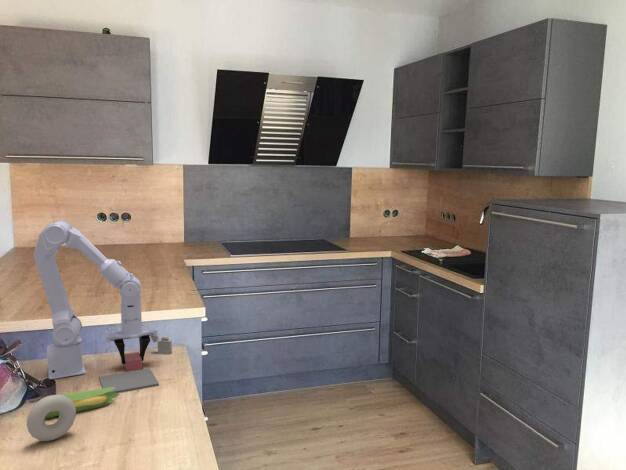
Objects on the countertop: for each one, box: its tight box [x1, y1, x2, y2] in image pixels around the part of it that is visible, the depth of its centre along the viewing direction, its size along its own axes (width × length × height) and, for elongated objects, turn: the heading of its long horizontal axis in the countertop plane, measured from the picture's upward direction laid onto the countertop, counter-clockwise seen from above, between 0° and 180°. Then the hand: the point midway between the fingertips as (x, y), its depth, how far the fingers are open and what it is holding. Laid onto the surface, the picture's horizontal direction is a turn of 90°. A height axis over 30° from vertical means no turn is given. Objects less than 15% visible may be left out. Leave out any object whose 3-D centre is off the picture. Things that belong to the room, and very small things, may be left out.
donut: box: [26, 394, 77, 442], centre depth 113 cm, size 10×4×10 cm, turn 134°
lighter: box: [150, 335, 173, 355], centre depth 166 cm, size 7×2×8 cm, turn 88°
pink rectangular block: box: [123, 351, 143, 372], centre depth 154 cm, size 4×6×4 cm
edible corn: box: [36, 387, 120, 419], centre depth 127 cm, size 5×20×5 cm
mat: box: [98, 367, 160, 394], centre depth 144 cm, size 14×12×1 cm
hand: (132, 361), depth 154 cm, fingers open, 5 cm apart
